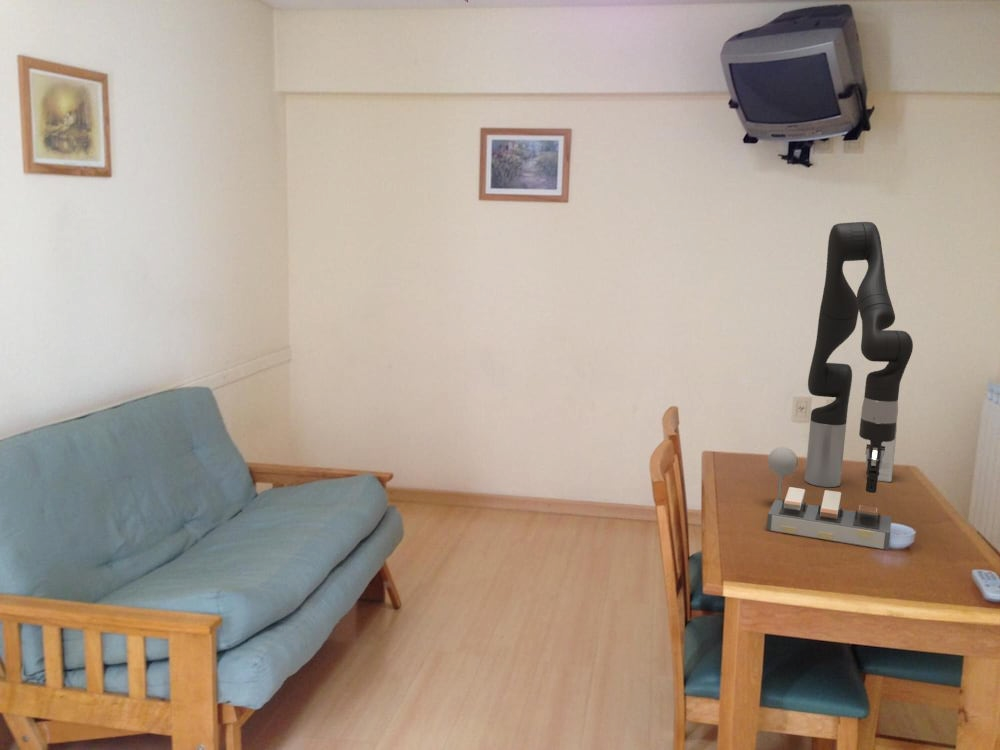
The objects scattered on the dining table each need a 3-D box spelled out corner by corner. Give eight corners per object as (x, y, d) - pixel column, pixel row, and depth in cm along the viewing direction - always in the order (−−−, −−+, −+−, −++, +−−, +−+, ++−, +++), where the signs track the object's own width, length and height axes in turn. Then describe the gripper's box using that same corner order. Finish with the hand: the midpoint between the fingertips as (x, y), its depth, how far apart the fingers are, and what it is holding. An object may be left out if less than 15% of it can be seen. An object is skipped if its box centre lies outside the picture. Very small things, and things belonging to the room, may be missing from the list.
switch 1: (789, 491, 216) (789, 486, 215) (804, 493, 214) (805, 489, 214) (783, 507, 208) (783, 503, 208) (799, 510, 206) (800, 505, 206)
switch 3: (860, 510, 209) (860, 505, 210) (876, 513, 208) (877, 507, 208) (858, 510, 201) (859, 504, 201) (876, 512, 200) (877, 507, 200)
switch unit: (773, 515, 220) (775, 491, 219) (889, 533, 209) (892, 508, 208) (766, 530, 208) (768, 505, 207) (888, 550, 198) (891, 524, 197)
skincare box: (891, 483, 251) (897, 428, 248) (865, 479, 253) (871, 425, 251) (892, 475, 258) (898, 422, 255) (867, 472, 261) (873, 419, 258)
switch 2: (824, 494, 212) (824, 489, 212) (840, 496, 211) (841, 492, 210) (820, 516, 205) (820, 511, 204) (836, 518, 204) (837, 514, 203)
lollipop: (795, 510, 224) (800, 452, 221) (765, 508, 225) (770, 449, 222) (791, 502, 230) (797, 445, 228) (763, 499, 232) (767, 442, 229)
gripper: (862, 410, 211) (855, 481, 215) (859, 422, 199) (851, 497, 203) (897, 414, 208) (889, 486, 212) (896, 426, 196) (887, 502, 200)
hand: (870, 491), depth 207 cm, fingers closed
